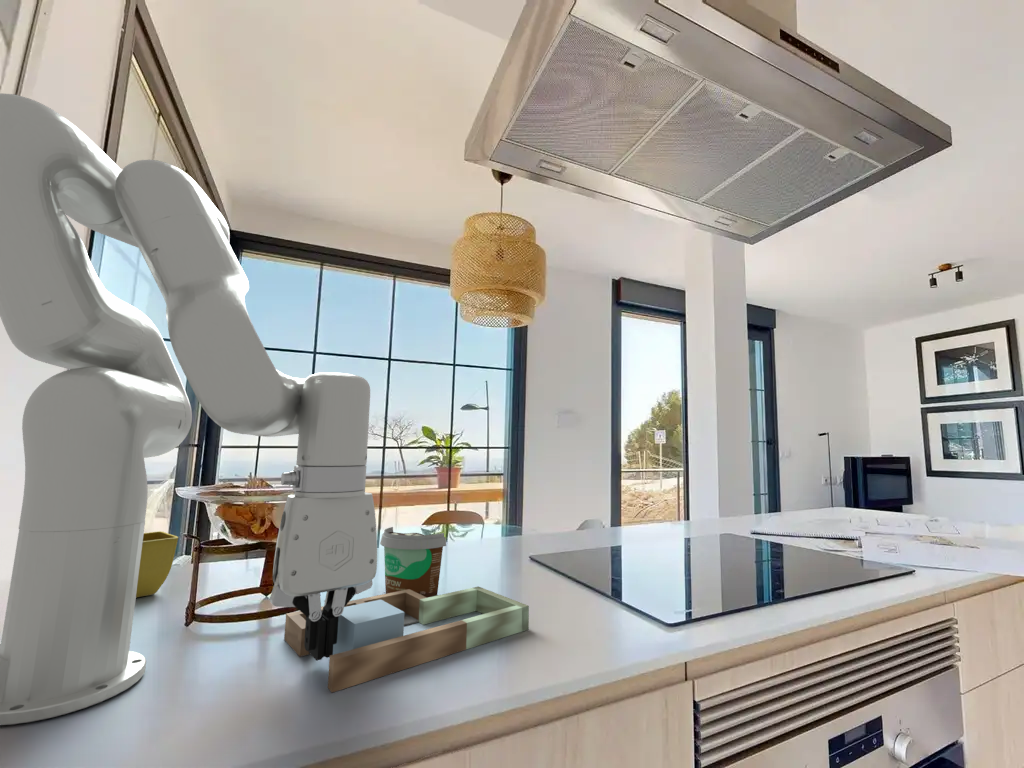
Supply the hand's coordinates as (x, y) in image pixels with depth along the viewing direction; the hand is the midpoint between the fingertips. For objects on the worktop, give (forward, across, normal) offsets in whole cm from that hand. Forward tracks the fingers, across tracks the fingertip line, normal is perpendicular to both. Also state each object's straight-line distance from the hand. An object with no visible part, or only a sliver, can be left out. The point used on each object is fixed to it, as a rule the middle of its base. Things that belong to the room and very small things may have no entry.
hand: (320, 654), depth 50 cm
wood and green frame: (+2, +12, +3) cm, 13 cm away
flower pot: (+2, -15, +44) cm, 46 cm away
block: (+2, +5, 0) cm, 6 cm away
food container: (+2, +19, +18) cm, 27 cm away
